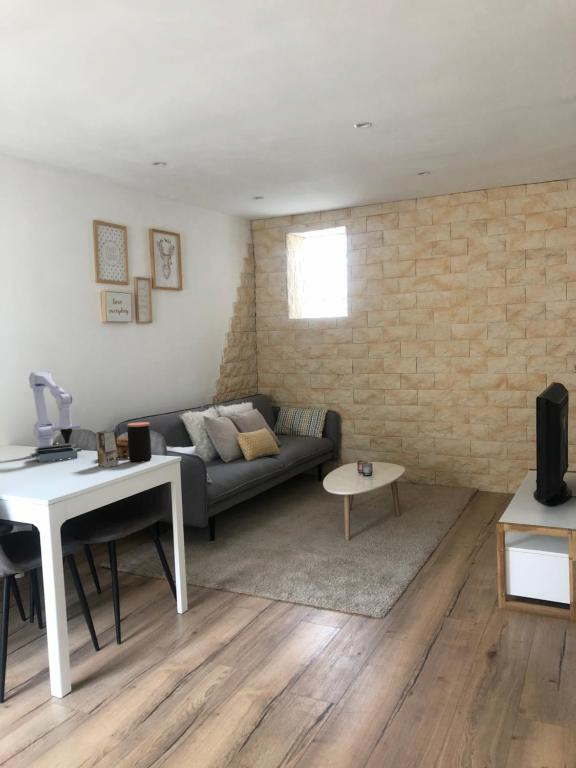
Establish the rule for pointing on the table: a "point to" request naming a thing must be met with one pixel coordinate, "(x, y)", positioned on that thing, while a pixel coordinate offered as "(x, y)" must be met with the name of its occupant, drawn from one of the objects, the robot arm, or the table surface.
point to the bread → (122, 447)
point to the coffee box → (107, 448)
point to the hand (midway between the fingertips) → (67, 443)
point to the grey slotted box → (55, 454)
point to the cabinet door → (55, 446)
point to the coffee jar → (139, 441)
